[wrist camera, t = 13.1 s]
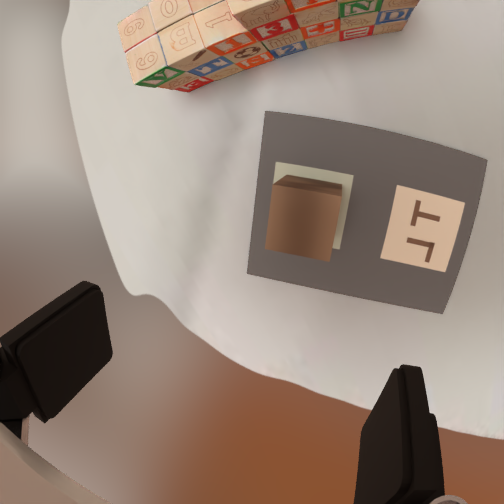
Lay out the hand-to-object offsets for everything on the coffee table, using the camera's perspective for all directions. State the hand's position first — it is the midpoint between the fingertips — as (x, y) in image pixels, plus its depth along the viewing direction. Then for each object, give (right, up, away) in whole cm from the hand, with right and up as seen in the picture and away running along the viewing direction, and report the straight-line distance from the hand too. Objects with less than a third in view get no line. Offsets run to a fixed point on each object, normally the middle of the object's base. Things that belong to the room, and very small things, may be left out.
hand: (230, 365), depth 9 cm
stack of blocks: (+3, +24, +15) cm, 28 cm away
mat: (+11, +6, +18) cm, 23 cm away
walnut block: (+6, +7, +19) cm, 22 cm away
